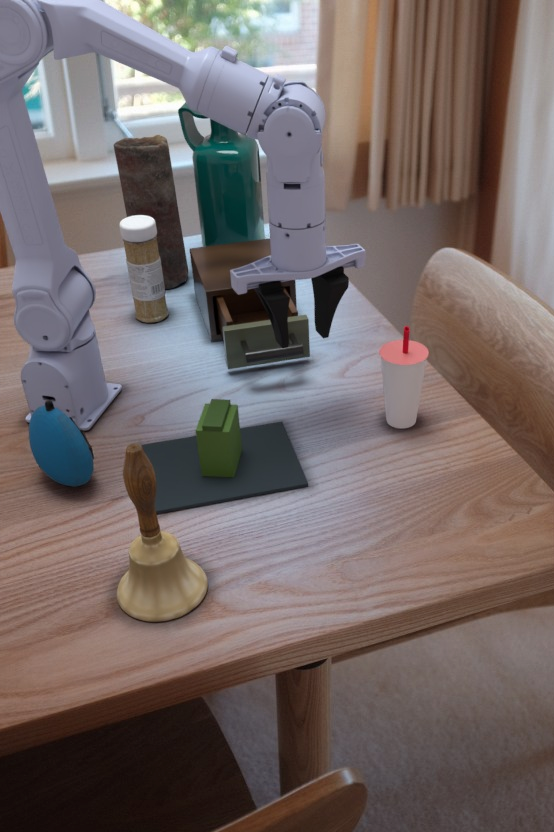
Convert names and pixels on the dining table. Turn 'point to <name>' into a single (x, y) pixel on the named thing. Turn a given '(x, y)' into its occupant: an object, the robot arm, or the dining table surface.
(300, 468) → the mat
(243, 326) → the drawer
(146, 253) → the sprinkles bottle
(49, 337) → the robot arm
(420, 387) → the cup
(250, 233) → the pitcher
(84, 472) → the ornament
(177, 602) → the hand bell
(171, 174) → the candle
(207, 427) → the green stepped block
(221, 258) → the cabinet
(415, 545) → the dining table surface
